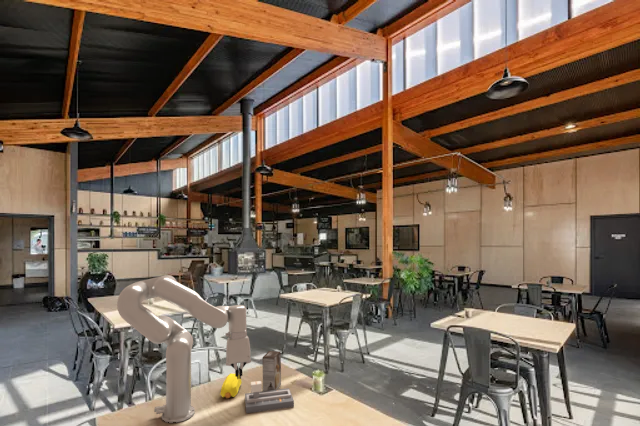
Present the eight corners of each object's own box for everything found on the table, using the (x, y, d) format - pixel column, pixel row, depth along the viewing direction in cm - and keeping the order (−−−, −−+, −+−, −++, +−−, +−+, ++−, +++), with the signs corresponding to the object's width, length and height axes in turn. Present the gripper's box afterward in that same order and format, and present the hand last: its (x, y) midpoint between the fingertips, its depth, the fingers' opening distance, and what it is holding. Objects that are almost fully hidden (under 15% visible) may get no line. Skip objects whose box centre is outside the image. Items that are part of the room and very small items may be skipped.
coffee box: (269, 383, 171) (268, 350, 172) (281, 384, 170) (281, 351, 171) (262, 391, 162) (262, 356, 163) (275, 392, 161) (275, 357, 162)
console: (246, 413, 143) (246, 404, 143) (245, 399, 155) (245, 391, 156) (293, 406, 148) (293, 398, 148) (289, 393, 160) (289, 385, 160)
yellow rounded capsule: (218, 401, 154) (236, 400, 155) (218, 385, 155) (236, 384, 155) (227, 383, 172) (242, 383, 173) (227, 370, 173) (242, 369, 173)
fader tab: (251, 400, 148) (251, 384, 149) (250, 397, 151) (250, 381, 152) (261, 399, 149) (261, 383, 150) (260, 395, 152) (260, 380, 153)
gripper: (219, 339, 145) (220, 384, 144) (255, 335, 148) (257, 378, 147) (220, 334, 152) (221, 376, 151) (254, 330, 156) (255, 372, 155)
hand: (239, 377), depth 149 cm, fingers closed
